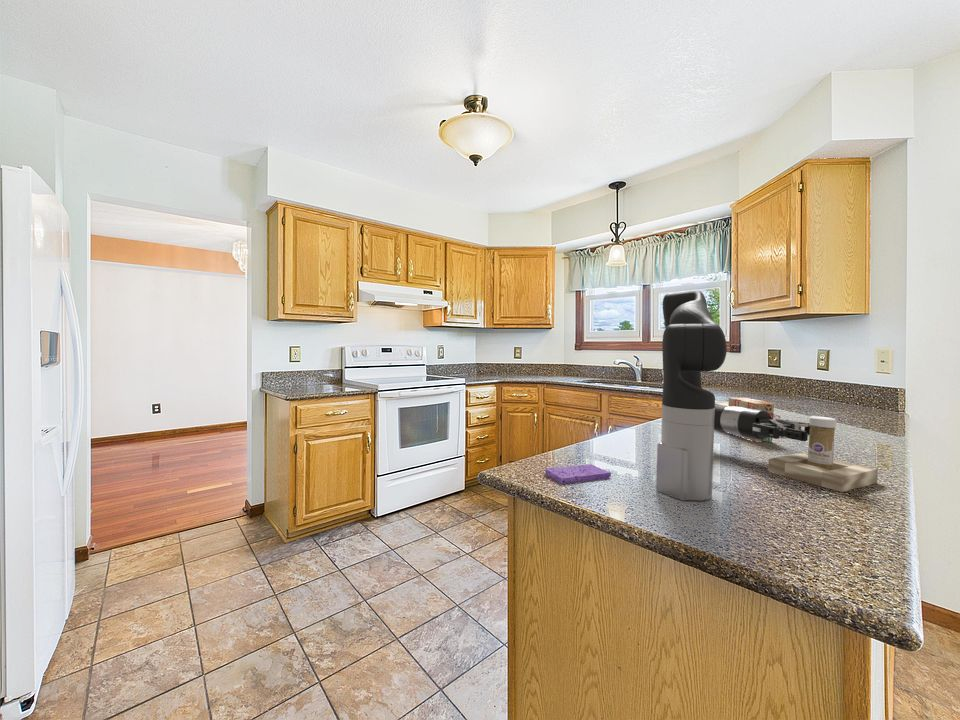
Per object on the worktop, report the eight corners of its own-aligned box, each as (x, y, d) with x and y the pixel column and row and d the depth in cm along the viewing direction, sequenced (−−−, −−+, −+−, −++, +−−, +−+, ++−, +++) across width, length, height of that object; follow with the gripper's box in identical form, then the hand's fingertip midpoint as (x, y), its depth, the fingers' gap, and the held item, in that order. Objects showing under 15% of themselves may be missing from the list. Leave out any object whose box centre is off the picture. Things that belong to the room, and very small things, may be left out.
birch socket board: (841, 491, 81) (842, 477, 81) (768, 471, 94) (768, 458, 94) (877, 482, 87) (877, 469, 87) (803, 465, 100) (803, 453, 100)
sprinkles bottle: (806, 477, 90) (809, 417, 90) (806, 472, 94) (809, 414, 93) (833, 481, 87) (836, 420, 87) (832, 476, 91) (835, 417, 90)
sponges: (544, 476, 91) (545, 467, 90) (591, 470, 95) (592, 462, 95) (561, 486, 84) (562, 477, 84) (611, 480, 88) (611, 471, 88)
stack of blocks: (710, 428, 145) (711, 394, 144) (727, 428, 145) (728, 394, 145) (753, 442, 123) (754, 402, 123) (773, 442, 124) (774, 402, 123)
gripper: (727, 409, 103) (800, 420, 88) (763, 406, 108) (836, 416, 94) (726, 438, 103) (798, 454, 88) (761, 434, 109) (834, 448, 94)
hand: (817, 435), depth 91 cm, fingers open, 8 cm apart
